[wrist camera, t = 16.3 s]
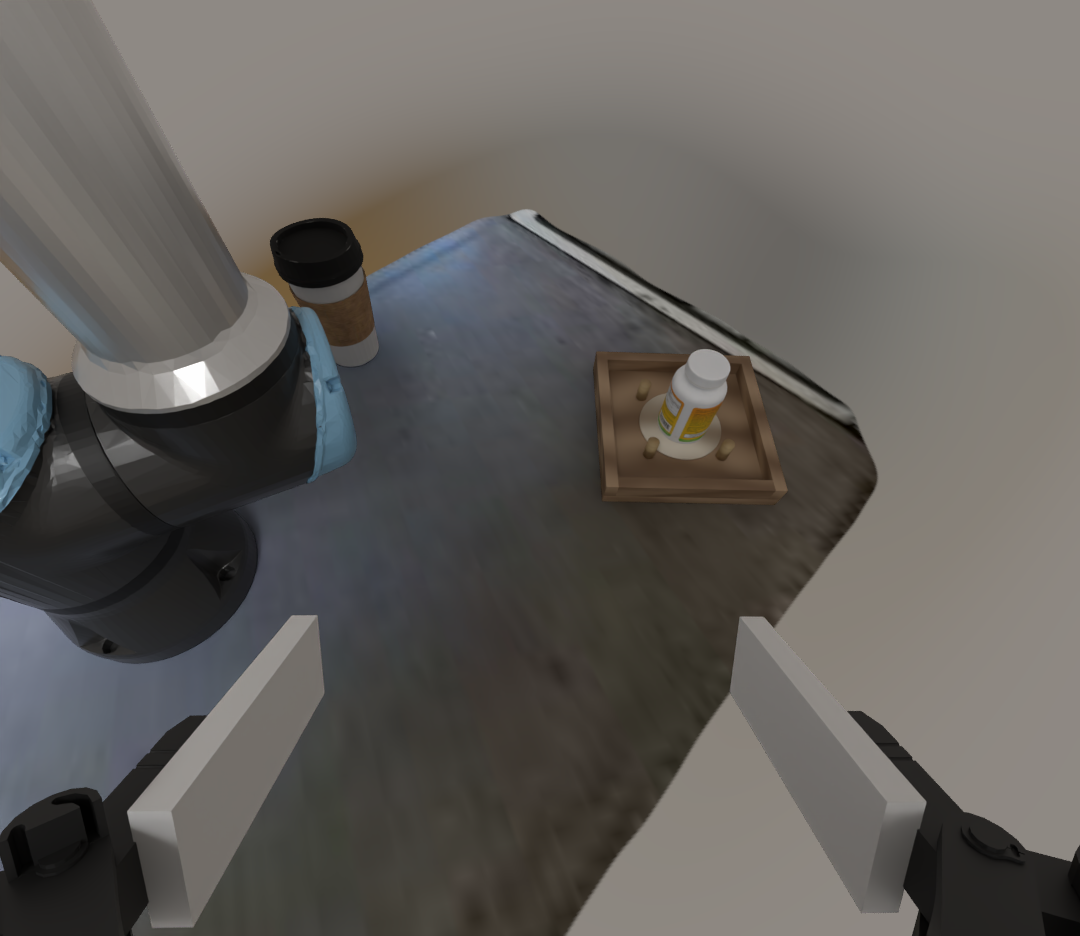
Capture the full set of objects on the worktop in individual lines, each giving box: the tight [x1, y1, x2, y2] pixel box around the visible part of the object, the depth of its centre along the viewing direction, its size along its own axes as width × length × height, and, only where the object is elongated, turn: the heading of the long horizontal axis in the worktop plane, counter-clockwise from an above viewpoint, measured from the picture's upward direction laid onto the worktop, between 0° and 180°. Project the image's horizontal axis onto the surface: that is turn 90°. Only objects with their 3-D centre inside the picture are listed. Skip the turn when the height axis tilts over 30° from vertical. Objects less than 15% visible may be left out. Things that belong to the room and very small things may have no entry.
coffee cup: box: [270, 218, 379, 367], centre depth 55 cm, size 8×8×15 cm
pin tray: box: [593, 352, 788, 505], centre depth 55 cm, size 18×18×4 cm
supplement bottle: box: [658, 349, 730, 444], centre depth 51 cm, size 5×5×10 cm
